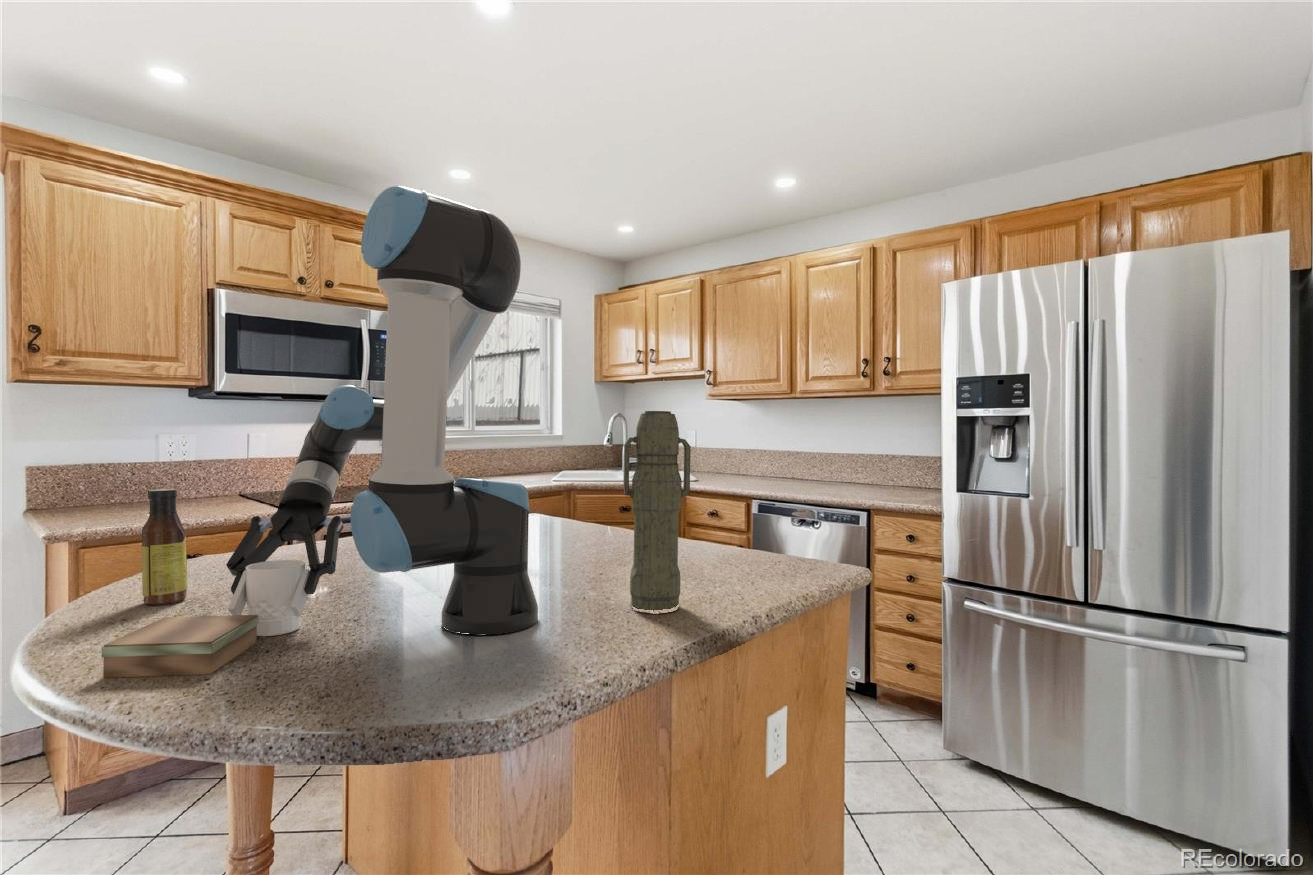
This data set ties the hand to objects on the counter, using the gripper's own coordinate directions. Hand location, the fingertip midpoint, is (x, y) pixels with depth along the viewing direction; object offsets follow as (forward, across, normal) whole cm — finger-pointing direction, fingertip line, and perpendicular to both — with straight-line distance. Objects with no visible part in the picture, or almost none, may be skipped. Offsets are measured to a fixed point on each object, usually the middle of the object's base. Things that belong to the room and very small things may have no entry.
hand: (265, 612), depth 93 cm
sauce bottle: (-13, +26, -18) cm, 34 cm away
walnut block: (+9, +6, +4) cm, 11 cm away
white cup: (0, 0, -5) cm, 5 cm away
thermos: (-5, -60, -10) cm, 61 cm away
